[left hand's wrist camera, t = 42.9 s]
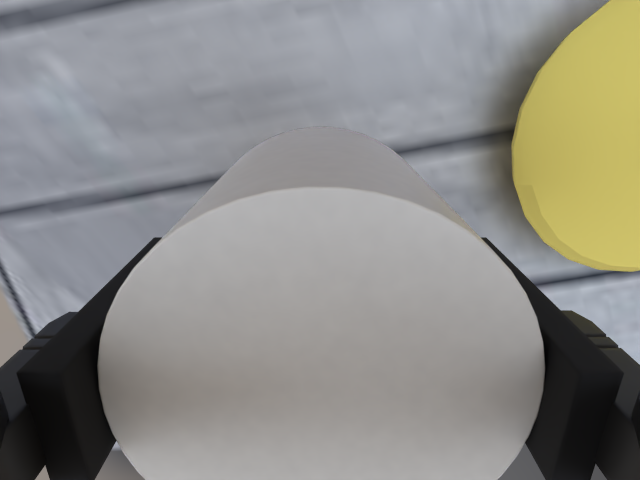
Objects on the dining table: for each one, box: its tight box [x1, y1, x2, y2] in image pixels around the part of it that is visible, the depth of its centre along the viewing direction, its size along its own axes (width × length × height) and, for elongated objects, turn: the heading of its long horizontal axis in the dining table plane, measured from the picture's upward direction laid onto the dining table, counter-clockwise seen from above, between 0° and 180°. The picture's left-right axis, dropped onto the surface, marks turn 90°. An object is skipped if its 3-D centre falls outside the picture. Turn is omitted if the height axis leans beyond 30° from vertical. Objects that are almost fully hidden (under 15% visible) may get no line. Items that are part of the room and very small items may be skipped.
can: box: [97, 127, 545, 480], centre depth 13 cm, size 9×9×9 cm
